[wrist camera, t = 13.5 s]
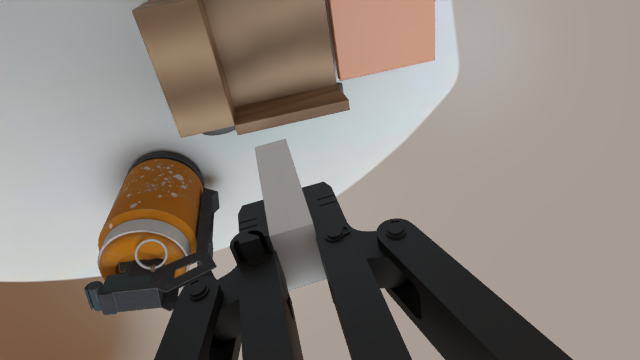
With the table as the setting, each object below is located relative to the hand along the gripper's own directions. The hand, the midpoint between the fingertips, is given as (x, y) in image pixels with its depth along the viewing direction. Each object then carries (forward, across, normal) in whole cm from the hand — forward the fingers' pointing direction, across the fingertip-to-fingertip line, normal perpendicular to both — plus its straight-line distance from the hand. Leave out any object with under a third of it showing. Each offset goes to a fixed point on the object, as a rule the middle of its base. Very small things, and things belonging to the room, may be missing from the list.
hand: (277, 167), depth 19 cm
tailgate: (+23, +8, 0) cm, 24 cm away
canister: (+28, -13, -14) cm, 34 cm away
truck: (+28, +1, 0) cm, 28 cm away
